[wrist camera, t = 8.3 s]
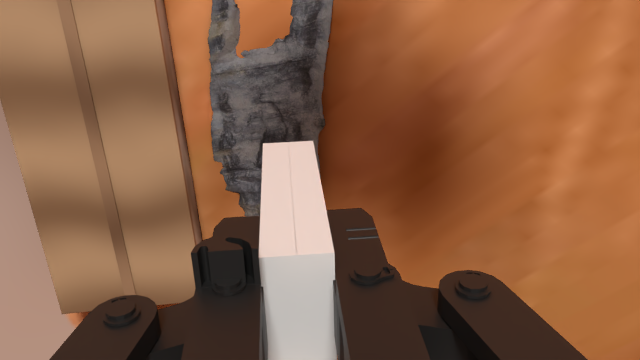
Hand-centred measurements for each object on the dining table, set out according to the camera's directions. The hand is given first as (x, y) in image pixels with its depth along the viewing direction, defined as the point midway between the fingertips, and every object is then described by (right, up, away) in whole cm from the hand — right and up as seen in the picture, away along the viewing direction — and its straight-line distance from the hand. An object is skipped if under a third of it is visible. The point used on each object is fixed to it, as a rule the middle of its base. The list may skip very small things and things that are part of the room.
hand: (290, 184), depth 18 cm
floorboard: (-11, +5, +13) cm, 17 cm away
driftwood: (-1, +6, +14) cm, 15 cm away
